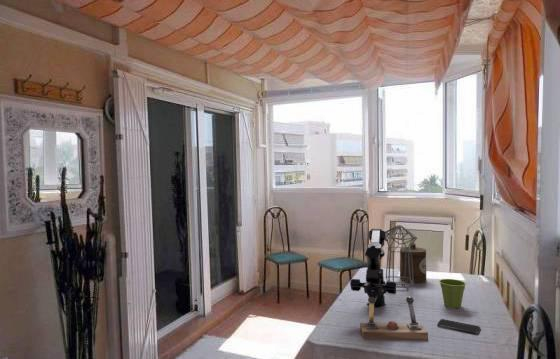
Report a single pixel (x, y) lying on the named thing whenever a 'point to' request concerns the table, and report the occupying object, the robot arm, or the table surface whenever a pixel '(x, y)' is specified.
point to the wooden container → (418, 264)
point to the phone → (459, 326)
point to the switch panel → (393, 331)
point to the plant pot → (452, 292)
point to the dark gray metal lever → (371, 310)
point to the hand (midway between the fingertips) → (372, 304)
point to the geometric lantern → (397, 251)
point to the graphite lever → (411, 310)
